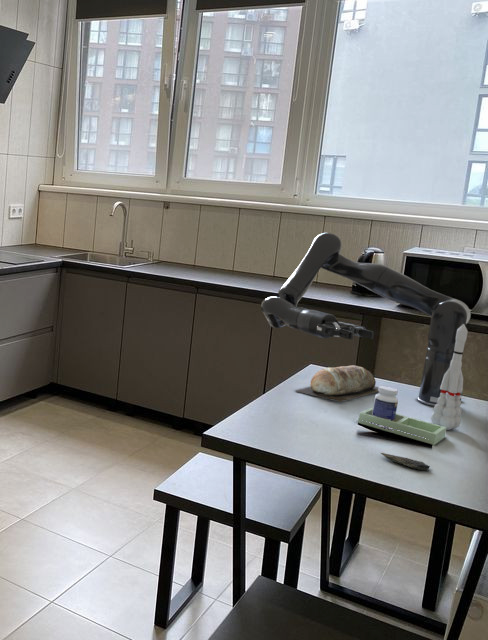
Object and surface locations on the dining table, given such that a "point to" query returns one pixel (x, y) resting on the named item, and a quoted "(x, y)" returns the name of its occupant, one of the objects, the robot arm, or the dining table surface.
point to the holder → (406, 427)
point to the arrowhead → (407, 462)
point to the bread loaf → (342, 383)
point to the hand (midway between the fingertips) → (362, 335)
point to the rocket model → (451, 388)
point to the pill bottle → (385, 403)
